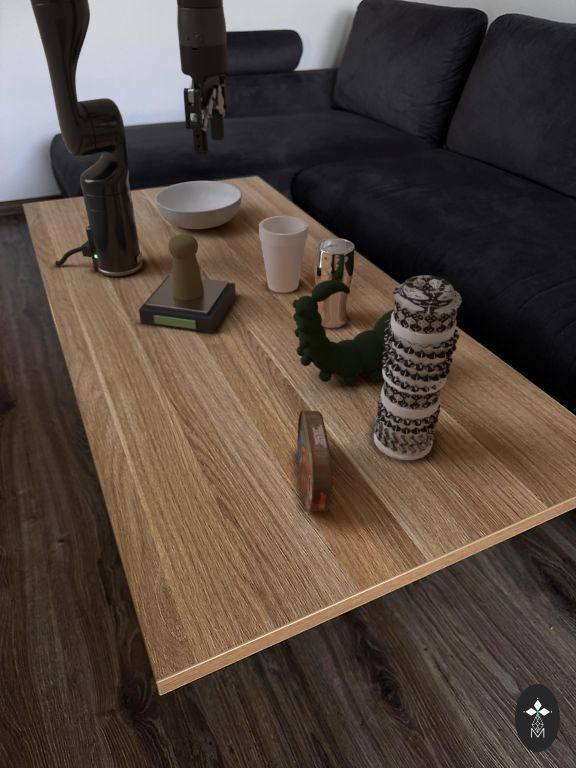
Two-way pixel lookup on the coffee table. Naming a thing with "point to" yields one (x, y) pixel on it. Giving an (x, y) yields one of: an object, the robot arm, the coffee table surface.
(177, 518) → the coffee table surface
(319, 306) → the shiny silver cylinder
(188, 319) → the scale
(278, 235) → the foam cup
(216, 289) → the scale platform
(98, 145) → the robot arm
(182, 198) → the serving bowl
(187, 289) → the olive game pawn
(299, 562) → the coffee table surface
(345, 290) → the toy figurine
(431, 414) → the white patterned cylinder
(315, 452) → the tin
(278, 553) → the coffee table surface
